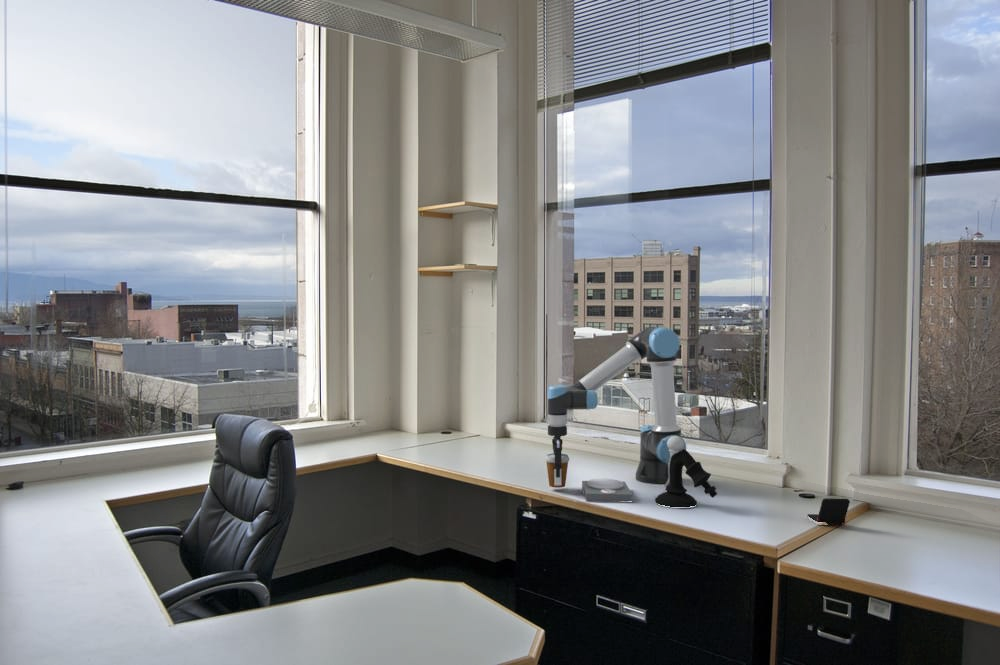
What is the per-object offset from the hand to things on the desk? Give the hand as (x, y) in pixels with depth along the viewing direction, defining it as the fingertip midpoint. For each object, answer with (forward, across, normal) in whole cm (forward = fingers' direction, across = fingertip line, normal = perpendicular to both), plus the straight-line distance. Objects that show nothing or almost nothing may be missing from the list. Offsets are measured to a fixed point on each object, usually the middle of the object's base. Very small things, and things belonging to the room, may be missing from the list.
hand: (557, 482), depth 295 cm
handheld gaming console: (+5, +37, +90) cm, 98 cm away
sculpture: (+4, +18, +46) cm, 50 cm away
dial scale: (+3, +6, +19) cm, 20 cm away
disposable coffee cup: (+1, 0, 0) cm, 1 cm away
